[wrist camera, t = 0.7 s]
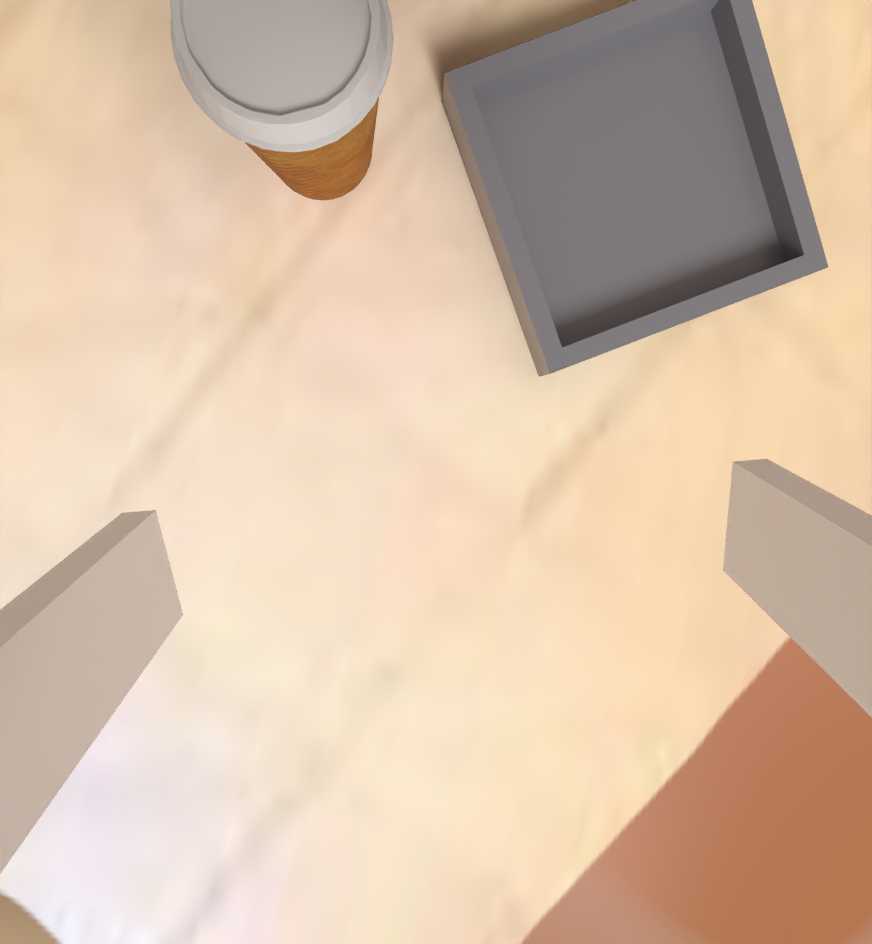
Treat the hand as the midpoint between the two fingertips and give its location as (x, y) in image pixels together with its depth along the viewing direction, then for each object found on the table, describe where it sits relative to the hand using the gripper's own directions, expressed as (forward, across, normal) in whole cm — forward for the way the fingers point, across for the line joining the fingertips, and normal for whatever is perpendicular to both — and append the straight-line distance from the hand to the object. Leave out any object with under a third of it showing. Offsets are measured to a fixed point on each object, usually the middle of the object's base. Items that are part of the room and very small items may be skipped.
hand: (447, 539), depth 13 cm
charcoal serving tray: (+28, +13, +10) cm, 33 cm away
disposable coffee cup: (+28, -6, +14) cm, 32 cm away
